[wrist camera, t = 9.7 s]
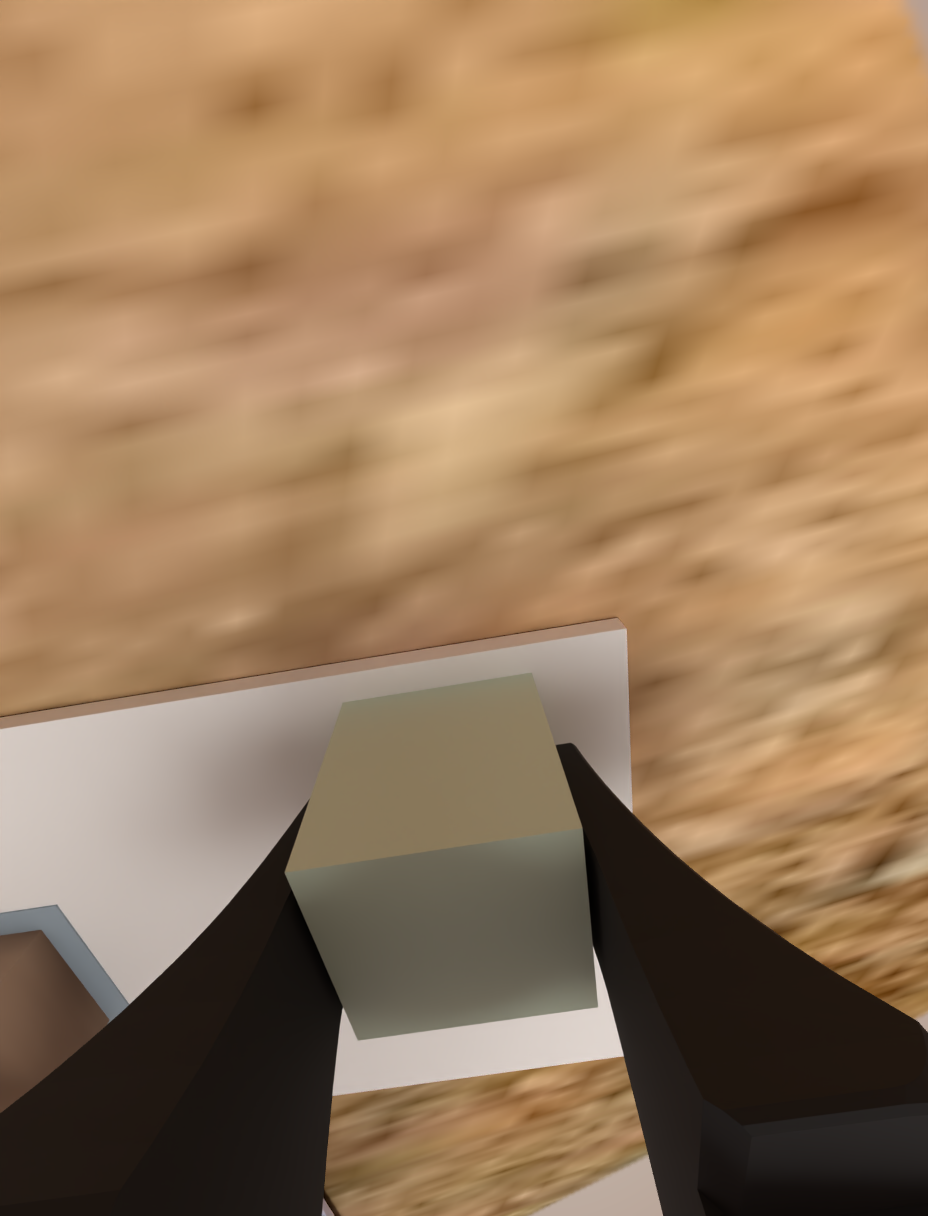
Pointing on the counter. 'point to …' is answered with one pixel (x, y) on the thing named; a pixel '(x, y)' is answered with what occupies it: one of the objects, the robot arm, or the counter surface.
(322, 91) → the counter surface
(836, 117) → the counter surface
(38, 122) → the counter surface
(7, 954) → the walnut block
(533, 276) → the counter surface
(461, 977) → the sage block
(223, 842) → the board
